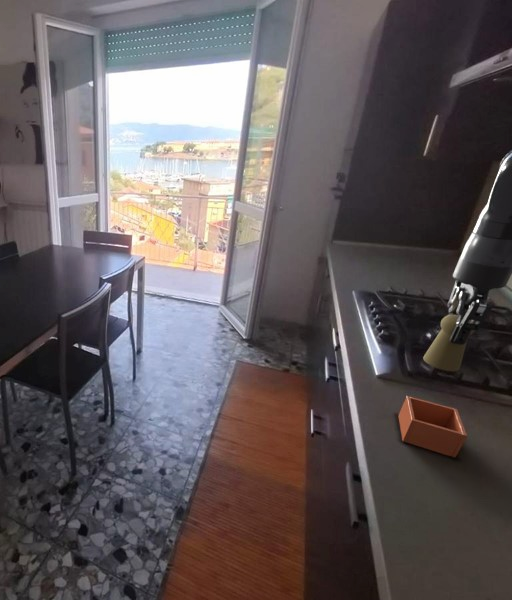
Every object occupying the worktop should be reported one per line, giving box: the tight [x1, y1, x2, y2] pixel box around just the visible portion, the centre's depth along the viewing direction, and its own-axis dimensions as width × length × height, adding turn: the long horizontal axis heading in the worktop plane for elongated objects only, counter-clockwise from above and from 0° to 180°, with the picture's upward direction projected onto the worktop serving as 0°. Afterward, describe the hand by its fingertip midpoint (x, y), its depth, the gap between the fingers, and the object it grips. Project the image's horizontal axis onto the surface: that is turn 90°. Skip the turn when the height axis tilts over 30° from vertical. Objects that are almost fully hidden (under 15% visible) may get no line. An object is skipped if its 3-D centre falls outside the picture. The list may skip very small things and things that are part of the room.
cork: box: [422, 314, 476, 372], centre depth 74 cm, size 6×6×11 cm
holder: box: [397, 395, 468, 459], centre depth 76 cm, size 9×9×6 cm
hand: (453, 336), depth 74 cm, fingers closed on cork, 5 cm apart
